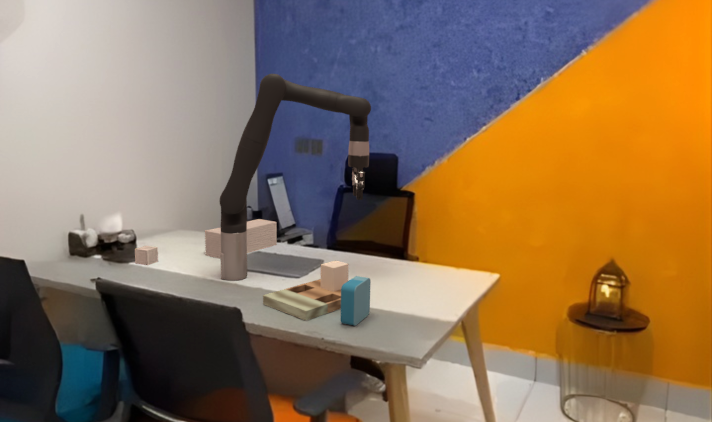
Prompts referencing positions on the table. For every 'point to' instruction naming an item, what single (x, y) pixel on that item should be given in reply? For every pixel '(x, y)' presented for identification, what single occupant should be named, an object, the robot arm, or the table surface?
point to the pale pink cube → (146, 255)
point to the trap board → (304, 300)
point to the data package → (355, 300)
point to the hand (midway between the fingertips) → (357, 197)
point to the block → (333, 275)
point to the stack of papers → (257, 237)
